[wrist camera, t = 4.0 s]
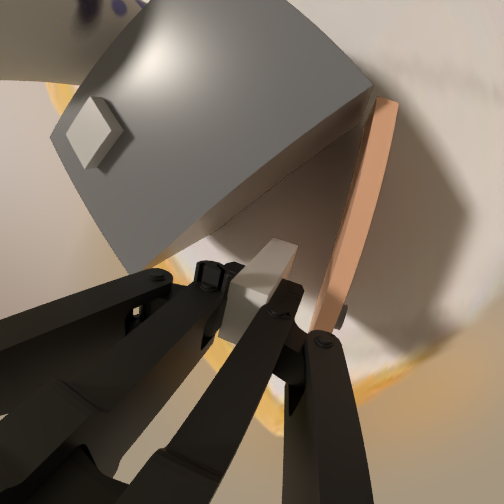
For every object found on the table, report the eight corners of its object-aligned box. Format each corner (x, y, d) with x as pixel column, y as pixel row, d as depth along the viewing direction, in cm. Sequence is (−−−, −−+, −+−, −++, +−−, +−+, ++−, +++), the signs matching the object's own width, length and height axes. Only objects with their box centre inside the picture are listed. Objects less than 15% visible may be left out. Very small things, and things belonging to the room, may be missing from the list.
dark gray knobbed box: (268, 24, 20) (202, -58, 8) (360, 122, 20) (375, 78, 9) (133, 152, 28) (27, 163, 16) (198, 245, 28) (104, 302, 17)
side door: (364, 124, 20) (377, 96, 10) (389, 131, 19) (419, 110, 10) (317, 298, 25) (296, 372, 16) (338, 305, 25) (328, 382, 15)
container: (195, 40, 22) (15, -37, 4) (130, 110, 26) (-52, 109, 8) (149, -1, 21) (7, -57, 3) (95, 62, 26) (-50, 47, 8)
